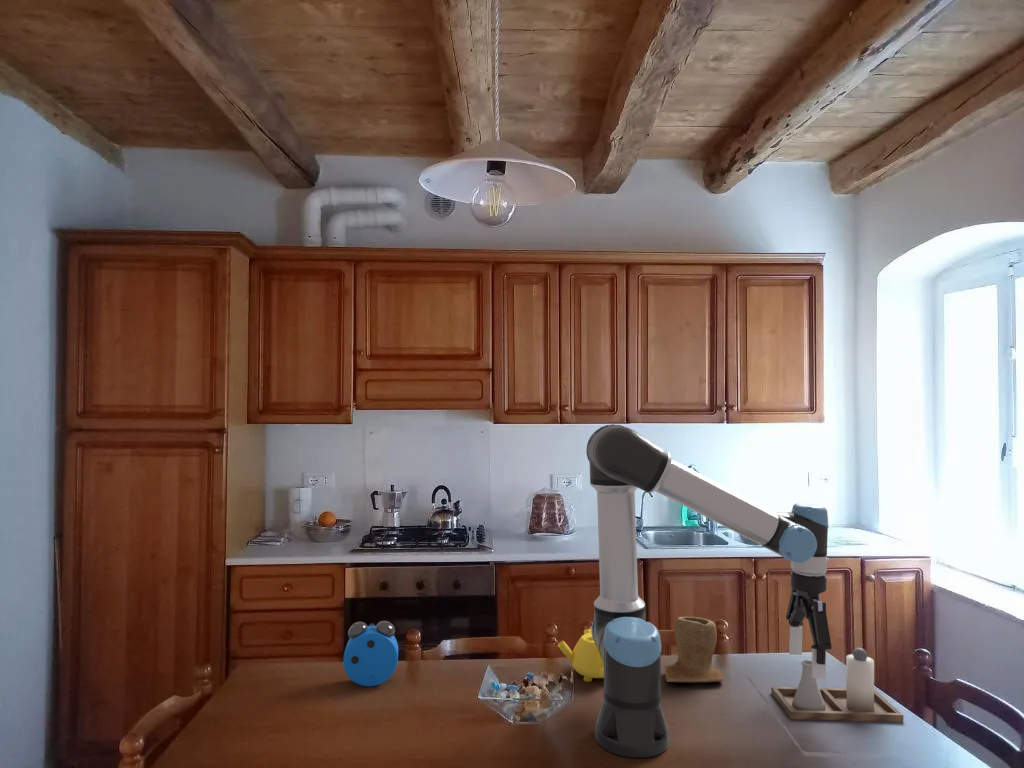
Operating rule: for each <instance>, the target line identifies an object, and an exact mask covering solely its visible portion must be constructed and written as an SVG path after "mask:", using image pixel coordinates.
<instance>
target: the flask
mask: <svg viewBox="0 0 1024 768" xmlns="http://www.w3.org/2000/svg"><path fill="white" fill-rule="evenodd" d="M800 662H801V665H802V672H801V677H800V680H799V684H798V689H797V691H796V694H795V696H794V699H793V702H792V704H793V705H794V706H795V707H797V708H798V709H800V710H810V711H825V707H826V706H825V703H824V700H823V698H822V695H821V692H820V689H819V688H820V687H819V684H818V680H817V678H812V659H811V660H810V659H801V660H800Z"/></svg>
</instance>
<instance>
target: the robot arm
mask: <svg viewBox="0 0 1024 768" xmlns="http://www.w3.org/2000/svg"><path fill="white" fill-rule="evenodd" d="M586 457H587V459H588V462H589V484H590V486H591V487H592V488H594V490H595V491H596V498H597V499H596V500H597V502H596V504H597V527H598V528H597V529H598V530H597V531H598V564H599V569H598V570H599V589H600V590H599V595H598V597H597V598H596V599H595V600H594V601H593V614H594V615H593V616H594V617H593V620H592V625H591V631H592V635H593V639H594V642H595V644H596V646H597V648H598V650H599V653H600V655H601V658H602V661H603V664H604V678H603V700H602V703H601V706H600V710H599V712H598V716H597V719H596V722H595V726H594V737H595V741H596V743H597V744H598V745H599V746H600V747H601V748H603V749H604V750H606V751H607V752H609V753H612V754H615V755H618V756H620V757H626V758H636V759H641V758H651V757H657V756H659V755H661V754H662V753H664V752H665V751H666V750H667V749H668V748H669V745H670V731H669V728H668V724H667V722H666V718H665V715H664V712H663V708H662V705H661V666H662V665H661V662H662V661H661V660H662V659H661V658H662V657H661V652H662V641H661V635H660V632H659V630H658V628H657V627H656V626H655V625H654V624H653V623H652V622H650V621H647V620H646V617H647V616H646V603H645V600H643V599H642V598H641V597H640V596H639V583H638V579H639V578H638V552H637V528H636V527H637V525H636V523H637V521H636V520H637V519H636V517H637V516H636V495H635V493H636V490H637V489H640V490H642V491H644V492H645V493H648V494H651V493H654V492H656V493H658V494H660V495H661V496H664V497H666V498H668V499H670V500H672V501H674V502H676V503H677V504H679V505H682V506H684V507H685V508H688V509H689V510H692V511H694V512H695V513H697V514H699V515H701V516H703V517H706V518H707V519H710V520H711V521H712V522H715V523H717V524H719V525H721V526H723V527H725V528H726V529H729V530H731V531H732V532H734V533H736V534H738V535H739V537H740V540H741V542H742V543H743V544H745V545H747V546H748V545H750V546H751V545H752V546H755V547H757V546H762V547H763V548H766V549H767V550H769V551H771V552H773V553H775V554H777V555H779V556H781V557H782V558H783V559H785V560H787V561H790V568H791V570H792V571H791V572H790V587H791V594H790V597H789V603H788V605H787V607H788V608H787V611H786V615H785V618H786V620H787V621H788V624H789V640H788V641H789V643H788V644H789V645H788V648H789V649H788V651H789V652H788V654H789V655H797V656H798V655H799V656H803V627H802V626H804V622H803V621H804V618H805V619H807V620H808V627H809V630H810V634H811V637H812V638H811V639H812V642H813V644H812V645H811V646H810V648H811V661H812V678H816V679H824V680H825V679H826V673H827V672H826V670H827V668H826V667H827V650H832V642H831V636H830V635H831V634H830V629H829V621H828V616H827V603H826V601H823V600H820V594H823V593H825V592H826V591H827V585H828V584H827V583H828V582H827V580H828V578H827V575H826V573H827V568H828V567H827V564H828V563H829V561H830V560H829V558H828V538H829V537H828V533H829V515H828V509H827V508H826V507H825V506H824V505H821V504H817V503H816V504H815V503H809V502H808V503H807V502H806V503H805V502H801V503H799V502H798V503H794V504H793V505H792V510H791V511H790V512H775V511H774V510H772V509H769V508H767V507H766V506H763V505H761V504H759V503H758V502H755V501H754V500H751V499H749V498H748V497H746V496H744V495H743V494H740V493H738V492H736V491H734V490H732V489H730V488H729V487H727V486H724V485H722V484H721V483H719V482H717V481H715V480H713V479H711V478H709V477H707V476H705V475H704V474H702V473H699V472H697V471H695V470H693V469H692V468H689V467H688V466H686V465H683V464H682V463H680V462H677V461H676V460H674V459H672V456H671V454H670V452H669V451H667V450H664V449H663V448H662V447H660V446H658V445H656V444H654V443H653V442H651V441H650V440H649V439H647V438H646V437H644V435H642V434H640V433H639V432H638V431H636V430H635V429H632V428H630V427H627V426H626V427H625V426H623V425H621V424H614V423H612V424H605V425H603V426H600V427H599V428H598V429H596V430H594V431H593V433H592V434H591V435H590V436H589V439H588V441H587V443H586Z"/></svg>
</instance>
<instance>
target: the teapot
mask: <svg viewBox="0 0 1024 768" xmlns="http://www.w3.org/2000/svg"><path fill="white" fill-rule="evenodd" d="M557 647H558V648H559V650H560V651H562V653H563V655H564V656H566V657H567V658H568V660H569V661H570V663H571V665H572V668H573V669H574V670H575V671H576V673H578V674H579V675H581V676H584V677H583V679H582V680H583V681H584V682H586V683H590V682H592V681H593V679H604V664H603V661H602V658H601V655H600V653H599V650H598V648H597V646H596V644H595V642H594V639H593V635H592V628H587V629H584V630H583V635H581V636H580V638H579V639H578V641H577V642H576V644H575V646H574V648H573V650H571V648H570V646H569V645H568V644H567V643H566V642H565V641H564V640H561V641H560V642H558V644H557Z"/></svg>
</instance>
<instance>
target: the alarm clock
mask: <svg viewBox="0 0 1024 768" xmlns="http://www.w3.org/2000/svg"><path fill="white" fill-rule="evenodd" d="M395 633H396V629H395V626H394V624H392V623H391V622H390V621H387V620H382V621H379V622H378V623H377V624H376V625H375V623H370V624H369V625H367V623H365V622H363V621H357V622H353V624H352V625H351V626H350V627H349V629H348V632H347V636H348V638H349V639H348V641H347V643H346V645H345V646H346V647H345V649H344V653H343V660H342V661H343V663H342V664H343V668H344V671H345V673H346V675H347V676H348V678H349V679H350V680H351V681H352V682H353V683H354V684H355V683H356V684H357V685H359V686H362V687H374V686H375V687H376V686H379V685H381V684H383V683H385V682H387V681H388V679H390V678H391V676H393V674H394V672H395V671H396V670H397V669H396V668H397V667H398V663H399V659H398V658H399V644H398V641H397V638H396V637H395Z"/></svg>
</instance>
